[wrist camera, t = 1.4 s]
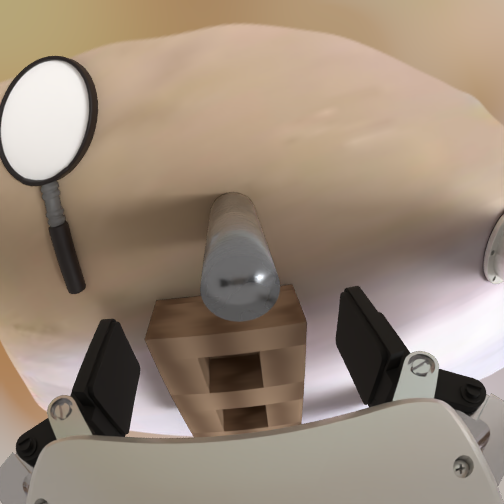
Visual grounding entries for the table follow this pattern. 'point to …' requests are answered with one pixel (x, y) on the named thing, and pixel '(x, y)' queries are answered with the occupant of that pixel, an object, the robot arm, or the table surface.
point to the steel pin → (237, 262)
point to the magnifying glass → (50, 140)
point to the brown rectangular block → (231, 365)
